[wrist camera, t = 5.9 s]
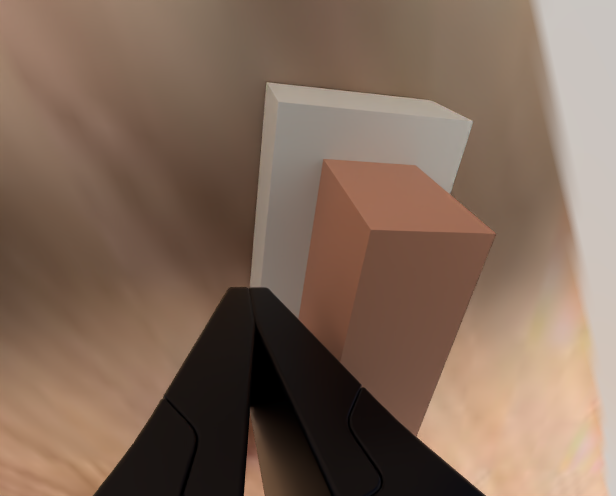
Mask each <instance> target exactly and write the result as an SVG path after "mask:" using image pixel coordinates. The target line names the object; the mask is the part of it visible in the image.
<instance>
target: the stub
mask: <svg viewBox="0 0 616 496" xmlns="http://www.w3.org/2000/svg"><path fill="white" fill-rule="evenodd" d="M472 124H473V121H472V120H470V119H468V118H466V117H464V116H462V115H460V114H458V113H456V112H454V111H452V110H450V109H448V108H446V107H444V106H442V105H440V104H438V103H436V102H434V101H432V100H425V99H415V98H406V97H397V96H388V95H379V94H370V93H361V92H351V91H342V90H333V89H324V88H315V87H306V86H296V85H287V84H278V83H269V82H266V94H265V106H264V119H263V131H262V143H261V155H260V168H259V180H258V192H257V205H256V217H255V229H254V241H253V254H252V266H251V278H250V287H267V288H269V289H270V290H271V291H272V292H273V293H274V294H275V296H276V297H277V298H278V299H279V300H280V301H281V302H282V303H283V304H284V305H285V306H286V307H287V308H288V309H289V310H290V311H291V312H292V313H293V314H294V315H295V316H296V317H297V318H298V319H299V320H300V321H301V322H302V323H303V324H304V325H305V327H306V328H307V329H308V330H309V331H310V332H311V333H312V334H313V335H314V336H315V337H316V338H317V339H318V340H319V341H320V342H321V343H322V344H323V345H324V346H325V347H326V348H327V349H328V350H329V351H330V352H331V353H332V354H333V355H334V356H335V358H336V359H337V360H338V361H339V362H340V363H341V364H342V365H343V366H344V367H345V368H346V369H347V370H348V371H349V372H350V373H351V374H352V375H353V376H354V377H355V378H356V379H357V380H358V381H359V382H360V383H361V384H362V387H364V388H366V389H367V390H368V391H369V392H370V393H371V394H372V395H373V397H374V398H375V399H376V400H377V401H378V402H379V403H380V404H381V405H382V406H383V407H385V408H386V409H387V410H388V411H389V412H390V413H391V414H392V415H393V416H394V417H395V418H396V419H397V420H398V421H399V422H400V423H401V424H402V425H403V426H405V427H406V428H407V429H408V430H409V431H410V432H411V433H413V434H414V435H415V436H417V434H418V431H419V428H420V426H421V423H422V421H423V418H424V416H425V413H426V411H427V408H428V406H429V403H430V401H431V398H432V395H433V393H434V390H435V388H436V385H437V383H438V380H439V378H440V375H441V373H442V370H443V368H444V365H445V362H446V360H447V357H448V355H449V352H450V350H451V347H452V345H453V342H454V340H455V337H456V335H457V332H458V329H459V327H460V324H461V322H462V319H463V317H464V314H465V312H466V309H467V307H468V304H469V302H470V299H471V296H472V294H473V291H474V289H475V286H476V284H477V281H478V279H479V276H480V274H481V271H482V269H483V266H484V263H485V261H486V258H487V256H488V253H489V251H490V248H491V246H492V243H493V241H494V238H495V236H496V233H495V232H494V231H492V230H491V229H490V228H489V227H488V226H487V225H485V224H484V223H483V222H482V221H481V220H479V219H478V218H477V217H476V216H475V215H474V214H472V213H471V212H470V211H469V210H468V209H467V208H465V207H464V206H463V205H462V204H461V203H459V202H458V201H457V200H456V199H455V198H454V197H452V196H451V195H450V193H451V190H452V187H453V184H454V181H455V178H456V174H457V171H458V168H459V165H460V162H461V159H462V156H463V153H464V149H465V146H466V143H467V140H468V137H469V134H470V131H471V127H472Z"/></svg>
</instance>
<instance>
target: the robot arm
mask: <svg viewBox="0 0 616 496" xmlns="http://www.w3.org/2000/svg"><path fill="white" fill-rule="evenodd" d="M250 414H251V420H252V425H253V431H254V437H255V442H256V448H257V454H258V460H259V465H260V471H261V477H262V482H263V488H264V494H265V496H486V495H484V494H483V493H482V492H481V491H480V490H478V489H477V488H476V487H475V486H474V485H472V484H471V483H470V482H469V481H468V480H467V479H465V478H464V477H463V476H462V475H461V474H459V473H458V472H457V471H456V470H455V469H453V468H452V467H451V466H450V465H449V464H448V463H446V462H445V461H444V460H443V459H442V458H440V457H439V456H438V455H437V454H436V453H435V452H433V451H432V450H431V449H430V448H429V447H427V446H426V445H425V444H424V443H423V442H422V441H420V440H419V439H418V438H417V437H416V436H415V435H414V434H413V433H411V432H410V431H409V430H408V429H407V428H406V427H405V426H403V425H402V424H401V423H400V422H399V421H398V420H397V419H396V418H395V417H394V416H393V415H392V414H391V413H390V412H389V411H388V410H387V409H386V408H385V407H383V406H382V405H381V404H380V403H379V402H378V401H377V400H376V399H375V398H374V397H373V395H372V394H371V393H370V392H369V391H368V390H367V389H366V388H364V387H362V384H361V383H360V382H359V381H358V380H357V379H356V378H355V377H354V376H353V375H352V374H351V373H350V372H349V371H348V370H347V369H346V368H345V367H344V366H343V365H342V364H341V363H340V362H339V361H338V360H337V359H336V358H335V356H334V355H333V354H332V353H331V352H330V351H329V350H328V349H327V348H326V347H325V346H324V345H323V344H322V343H321V342H320V341H319V340H318V339H317V338H316V337H315V336H314V335H313V334H312V333H311V332H310V331H309V330H308V329H307V328H306V327H305V325H304V324H303V323H302V322H301V321H300V320H299V319H298V318H297V317H296V316H295V315H294V314H293V313H292V312H291V311H290V310H289V309H288V308H287V307H286V306H285V305H284V304H283V303H282V302H281V301H280V300H279V299H278V298H277V297H276V296H275V294H274V293H273V292H272V291H271V290H270V289H269V288H267V287H250V288H247V287H230V288H229V289H228V290H227V291H226V293H225V295H224V296H223V298H222V300H221V301H220V303H219V305H218V306H217V308H216V310H215V311H214V313H213V315H212V316H211V318H210V320H209V321H208V323H207V325H206V326H205V328H204V330H203V331H202V333H201V335H200V336H199V338H198V339H197V341H196V343H195V344H194V346H193V348H192V349H191V351H190V353H189V354H188V356H187V358H186V359H185V361H184V363H183V364H182V366H181V368H180V369H179V371H178V373H177V374H176V376H175V378H174V379H173V381H172V383H171V384H170V386H169V388H168V389H167V391H166V393H165V394H164V396H163V399H161V400H160V402H159V404H158V405H157V407H156V409H155V410H154V412H153V414H152V415H151V417H150V418H149V420H148V422H147V423H146V425H145V426H144V428H143V429H142V431H141V432H140V434H139V435H138V437H137V438H136V440H135V441H134V443H133V444H132V445H131V447H130V448H129V450H128V451H127V452H126V454H125V455H124V456H123V458H122V459H121V460H120V462H119V463H118V464H117V466H116V467H115V468H114V470H113V471H112V472H111V473H110V475H109V476H108V477H107V478H106V480H105V481H104V482H103V484H102V485H101V486H100V487H99V489H98V490H97V491H96V492H95V494H94V495H93V496H244V485H245V471H246V458H247V444H248V431H249V417H250Z"/></svg>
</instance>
